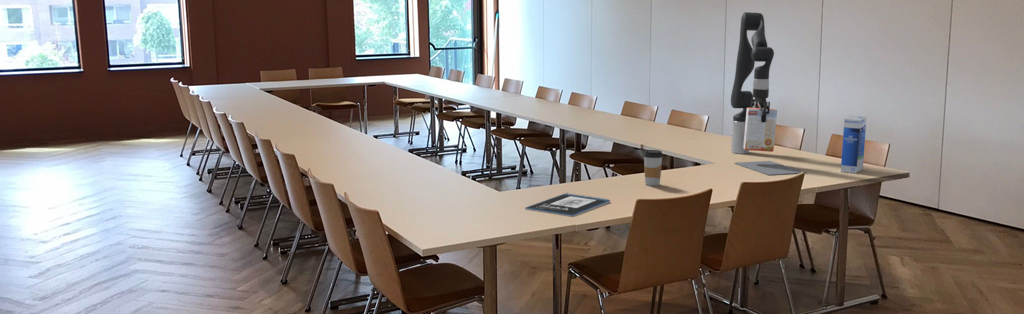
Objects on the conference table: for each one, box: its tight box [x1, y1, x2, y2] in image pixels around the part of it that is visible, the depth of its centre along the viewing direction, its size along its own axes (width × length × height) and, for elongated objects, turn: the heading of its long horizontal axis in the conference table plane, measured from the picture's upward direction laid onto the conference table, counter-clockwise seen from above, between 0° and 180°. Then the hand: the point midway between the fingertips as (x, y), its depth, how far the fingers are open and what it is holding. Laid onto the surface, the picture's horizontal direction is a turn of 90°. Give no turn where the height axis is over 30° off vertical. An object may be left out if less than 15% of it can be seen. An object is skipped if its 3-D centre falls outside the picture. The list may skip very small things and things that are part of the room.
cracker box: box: [743, 108, 778, 153], centre depth 430 cm, size 14×6×21 cm, turn 85°
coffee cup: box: [643, 149, 664, 187], centre depth 384 cm, size 8×8×15 cm
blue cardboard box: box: [840, 115, 867, 174], centre depth 415 cm, size 13×8×26 cm, turn 145°
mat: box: [734, 160, 807, 176], centre depth 423 cm, size 32×20×1 cm, turn 15°
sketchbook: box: [524, 192, 611, 217], centre depth 345 cm, size 22×30×2 cm
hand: (759, 121), depth 430 cm, fingers closed on cracker box, 7 cm apart
